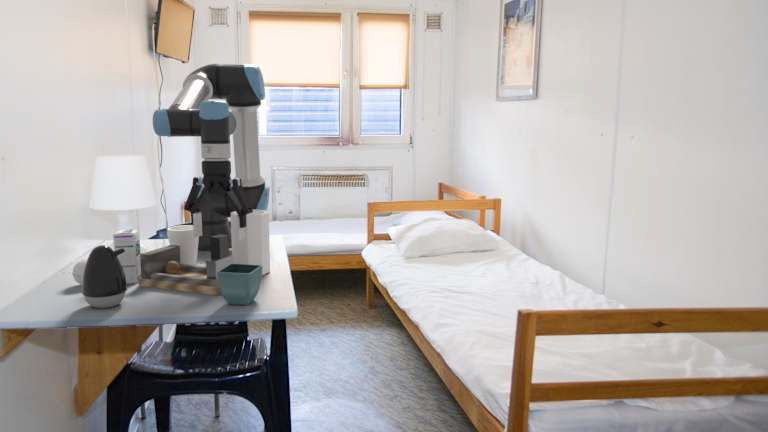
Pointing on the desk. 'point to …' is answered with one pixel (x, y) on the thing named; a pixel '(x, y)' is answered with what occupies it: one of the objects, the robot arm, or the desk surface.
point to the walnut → (172, 267)
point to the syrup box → (129, 253)
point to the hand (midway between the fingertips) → (219, 238)
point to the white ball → (79, 271)
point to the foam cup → (184, 242)
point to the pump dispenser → (104, 278)
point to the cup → (252, 240)
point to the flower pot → (240, 283)
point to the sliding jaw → (218, 255)
